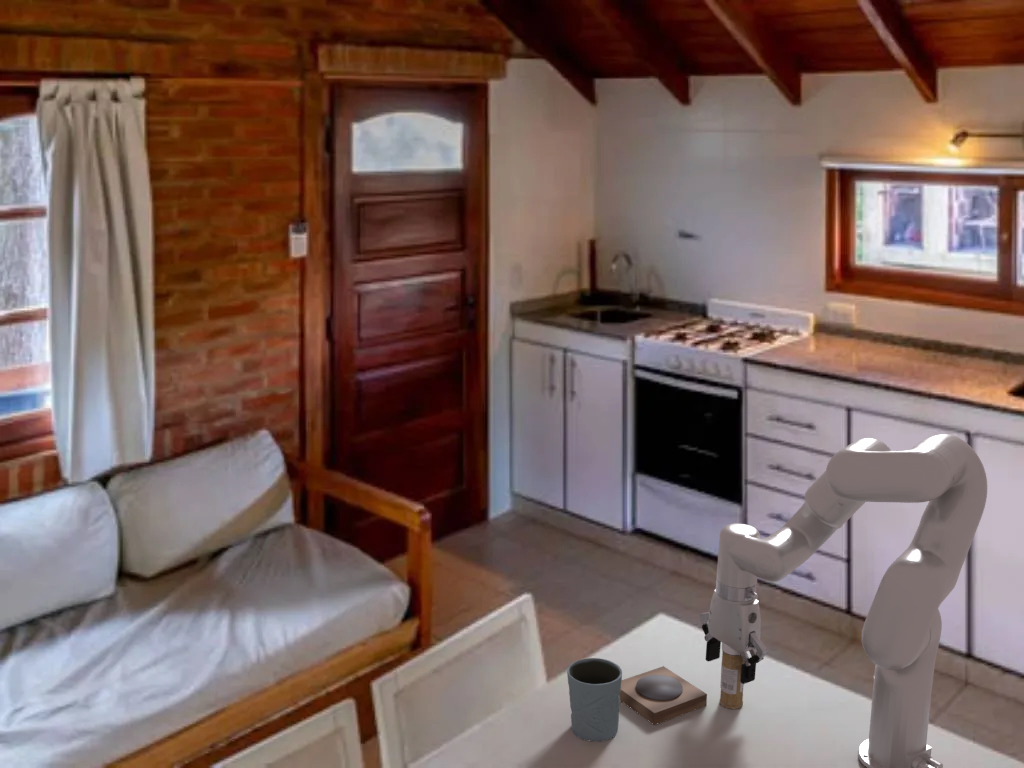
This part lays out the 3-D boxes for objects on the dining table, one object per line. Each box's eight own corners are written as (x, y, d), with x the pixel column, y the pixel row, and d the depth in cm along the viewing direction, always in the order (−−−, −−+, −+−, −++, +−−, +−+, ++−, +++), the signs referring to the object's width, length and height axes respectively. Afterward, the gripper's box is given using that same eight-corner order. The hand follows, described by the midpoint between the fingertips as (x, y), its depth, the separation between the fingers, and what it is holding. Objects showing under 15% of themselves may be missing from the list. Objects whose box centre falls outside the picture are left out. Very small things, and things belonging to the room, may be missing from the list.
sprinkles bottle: (747, 705, 210) (751, 642, 207) (730, 712, 208) (734, 648, 205) (730, 695, 214) (734, 633, 211) (714, 702, 212) (717, 639, 208)
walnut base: (706, 705, 210) (707, 691, 210) (654, 725, 204) (654, 710, 203) (663, 677, 221) (663, 663, 220) (612, 694, 214) (612, 681, 214)
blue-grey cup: (617, 746, 197) (619, 687, 194) (562, 740, 199) (563, 681, 196) (623, 717, 206) (624, 660, 203) (570, 711, 208) (571, 654, 205)
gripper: (783, 602, 200) (776, 685, 205) (719, 568, 214) (713, 646, 219) (754, 611, 196) (747, 696, 201) (690, 576, 211) (685, 655, 215)
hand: (729, 670), depth 210 cm, fingers open, 9 cm apart
